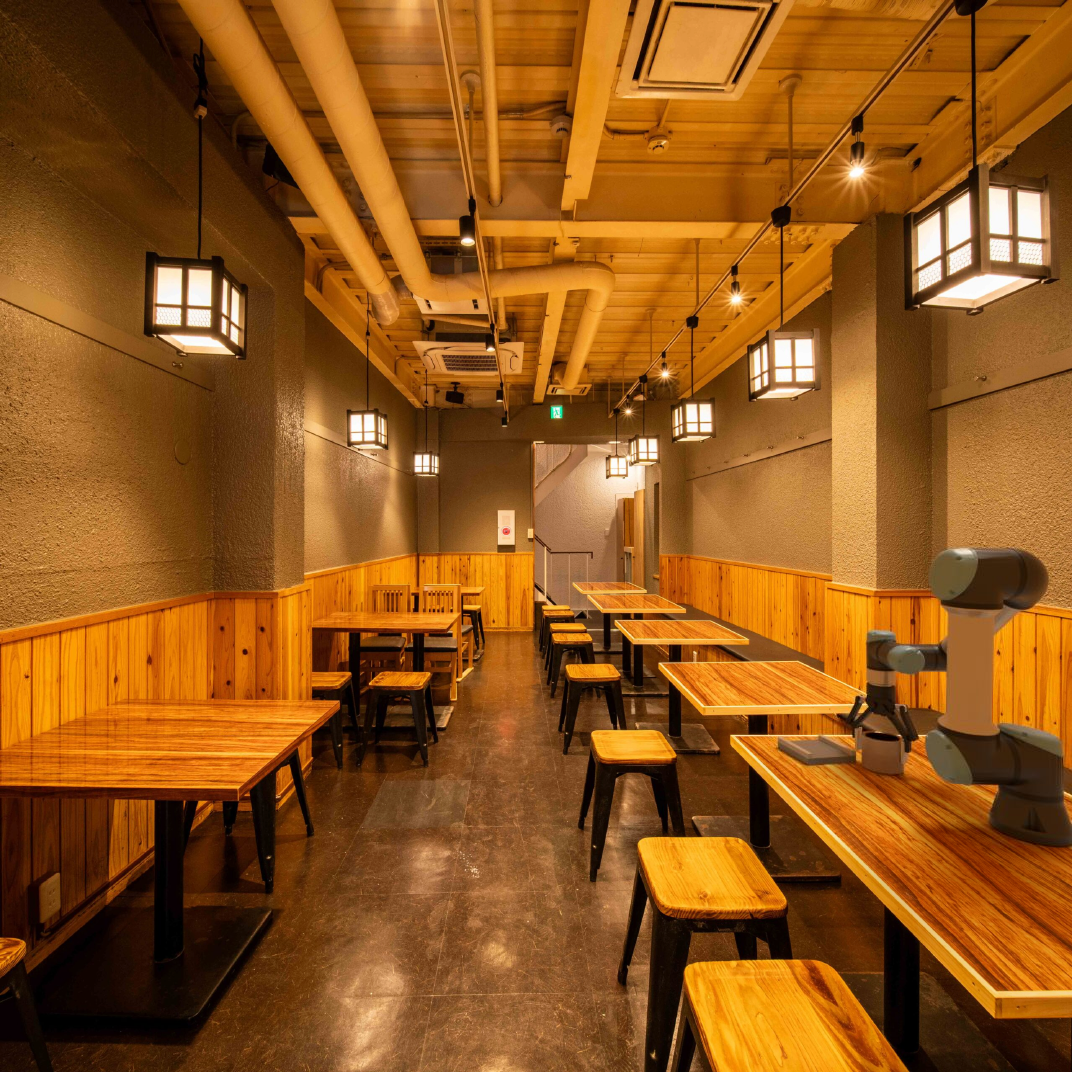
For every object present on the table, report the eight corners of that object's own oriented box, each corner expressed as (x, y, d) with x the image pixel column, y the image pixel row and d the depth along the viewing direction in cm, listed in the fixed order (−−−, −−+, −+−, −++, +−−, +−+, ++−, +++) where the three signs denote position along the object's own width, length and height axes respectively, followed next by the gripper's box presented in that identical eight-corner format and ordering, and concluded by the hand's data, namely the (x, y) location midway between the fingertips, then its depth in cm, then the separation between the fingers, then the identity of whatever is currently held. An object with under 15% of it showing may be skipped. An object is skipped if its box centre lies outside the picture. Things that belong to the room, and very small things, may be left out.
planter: (879, 776, 168) (878, 742, 168) (853, 763, 179) (852, 731, 179) (913, 774, 170) (912, 741, 170) (885, 761, 180) (885, 729, 181)
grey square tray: (856, 762, 179) (856, 751, 180) (807, 765, 177) (807, 753, 177) (822, 745, 195) (822, 734, 195) (777, 747, 193) (777, 737, 193)
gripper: (932, 690, 167) (932, 766, 167) (846, 673, 187) (846, 741, 187) (920, 694, 163) (920, 772, 163) (833, 676, 183) (833, 746, 183)
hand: (880, 756), depth 175 cm, fingers open, 12 cm apart
